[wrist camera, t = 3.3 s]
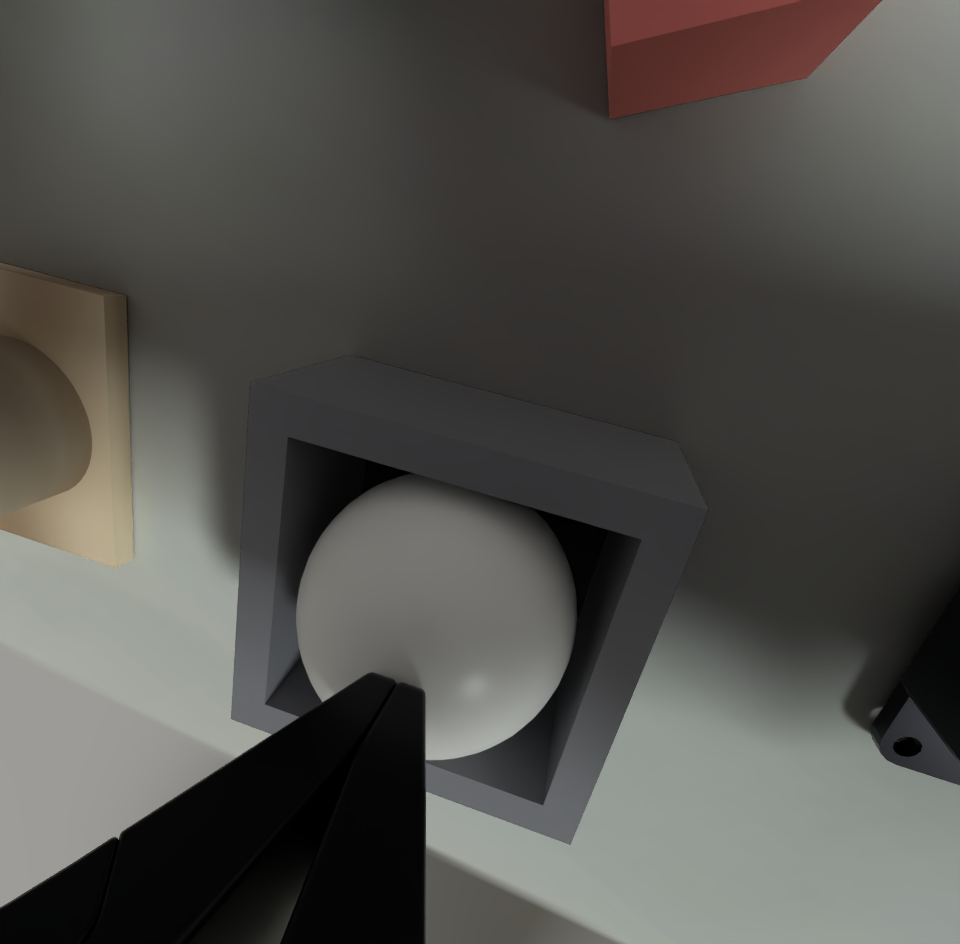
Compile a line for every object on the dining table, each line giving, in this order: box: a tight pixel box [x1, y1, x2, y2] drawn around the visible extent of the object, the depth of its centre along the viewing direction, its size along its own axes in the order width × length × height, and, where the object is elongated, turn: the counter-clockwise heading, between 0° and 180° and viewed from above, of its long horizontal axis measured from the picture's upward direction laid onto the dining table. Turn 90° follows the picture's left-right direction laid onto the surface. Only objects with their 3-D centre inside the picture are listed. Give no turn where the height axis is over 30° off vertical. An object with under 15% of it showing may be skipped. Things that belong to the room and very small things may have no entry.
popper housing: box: [231, 355, 709, 844], centre depth 11 cm, size 7×7×4 cm
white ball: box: [296, 473, 577, 760], centre depth 10 cm, size 5×5×5 cm
